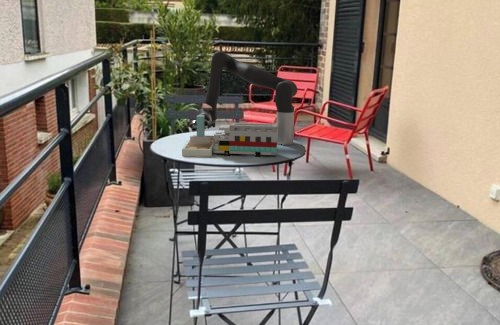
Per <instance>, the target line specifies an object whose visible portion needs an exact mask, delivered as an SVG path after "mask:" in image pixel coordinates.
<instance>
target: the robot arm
mask: <svg viewBox="0 0 500 325" xmlns="http://www.w3.org/2000/svg"><path fill="white" fill-rule="evenodd" d="M222 71H225V72H228V73H231V74H234V75H236V76H238V77H239V78H240V79H242V80H244V81H246V82H248V83H250V84H252V85H255V86H258V87H262V88H266V89H271V90H274V91H275V95H274V97H275V99H274V100H275V107H276V123H275V124H278V129H277V145H281V144H282V146H283V145H284V146H288V145H289V146H290V145H294V137H295V136H294V135H295V134H294V133H295V127H294V123H295V122H294V121H295V106H294V105H293V102H292V101H293V100H292V98H294V97H295V96H296V95H297V94H298V87H297V84H296V83H295V82H293V81H292V80H290V79H289V80H288V79H286V78H282V77H279V76H277V75H274V74H273V73H271V72H268V71H267V70H264V69H262V68H260V67H257V66H256V65H253V64H251V63H247V62H246V63H245V62H241V61H239V60H238V59H236V58H234V57H232V56H230V55H229V54H227V53H226V52H224V51H222V50H218V51H215V52H214V53H213V55H212V56H211V62H210V74H209V82H208V85H207V86H208V87H207V90H206V95H205V98H204V103H205V104H206V105H207V106H210V107H211V109H208V108H200V109H199V110H198V113H197V115H204V123H205V130H207V129H208V130H209V129H210V128H211V129H212V128H216V121H217V119H218V118H217V116H218V112H217V111H218V110H217V109H218V108H217V106H218V102H219V97H220V93H221V92H220V91H221V74H222ZM186 127H187V128H190V129H193V128H196V129H197V118H195V120H191V119H190V120H187V121H186Z"/></svg>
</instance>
